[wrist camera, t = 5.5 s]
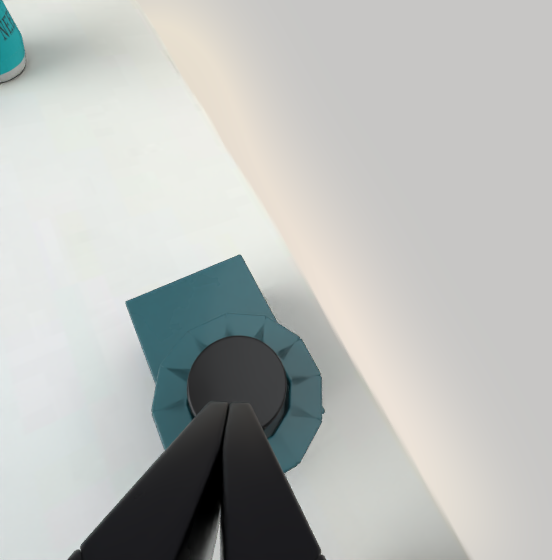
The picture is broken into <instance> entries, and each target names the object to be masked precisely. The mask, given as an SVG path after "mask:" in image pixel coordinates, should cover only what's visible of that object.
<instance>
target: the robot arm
mask: <svg viewBox="0 0 552 560" xmlns="http://www.w3.org/2000/svg"><path fill="white" fill-rule="evenodd" d="M220 515H221V517H220ZM219 522H220V560H326V559H325V557H324V555H321V549H320V547H319V545H318V543H317V541H316V538H315V536H314V534H313V532H312V530H311V528H310V526H309V524H308V522H307V520H306V518H305V516H304V514H303V512H302V510H301V507H300V505H299V503H298V501H297V499H296V497H295V495H294V493H293V491H292V489H291V487H290V485H289V483H288V481H287V479H286V476H285V474H284V472H283V470H282V468H281V466H280V464H279V462H278V460H277V458H276V456H275V454H274V452H273V450H272V448H271V445H270V443H269V441H268V439H267V437H266V435H265V433H264V431H263V429H262V427H261V425H260V423H259V421H258V419H257V417H256V414H255V412H254V410H253V408H252V406H251V405H250V404H249V403H247V402H232V403H230V405H229V403H228V402H222V401H210V402H208V403H207V404H206V405H205V406H204V408H203V409H202V410H201V411H200V412H199V413H198V414H197V415H196V417H195V418H194V419H193V420H192V421H191V422H190V423H189V424H188V425H187V427H186V428H185V429H184V430H183V431H182V432H181V433H180V434H179V436H178V437H177V438H176V439H175V440H174V441H173V442H172V443H171V444H170V446H169V447H168V448H167V449H166V450H165V451H164V452H163V453H162V455H161V456H160V457H159V458H158V459H157V460H156V461H155V462H154V464H153V465H152V466H151V467H150V468H149V469H148V470H147V471H146V472H145V474H144V475H143V476H142V477H141V478H140V479H139V480H138V481H137V483H136V484H135V485H134V486H133V487H132V488H131V489H130V490H129V491H128V493H127V494H126V495H125V496H124V497H123V498H122V499H121V500H120V502H119V503H118V504H117V505H116V506H115V507H114V508H113V509H112V511H111V512H110V513H109V514H108V515H107V516H106V517H105V518H104V519H103V521H102V522H101V523H100V524H99V525H98V526H97V527H96V528H95V530H94V531H93V532H92V533H91V534H90V535H89V536H88V537H87V538H86V540H85V541H84V542H83V543H82V544H81V546H80V549H81V551H80V550H76V551H74V553H73V554H72V555H71V556H70V557H69V558H68V559H67V560H212V557H213V552H214V548H215V543H216V538H217V533H218V528H219Z"/></svg>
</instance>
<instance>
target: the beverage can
mask: <svg viewBox="0 0 552 560" xmlns="http://www.w3.org/2000/svg"><path fill="white" fill-rule="evenodd" d="M25 63H26V56H25V50H24V45H23V40H22V36H21V33H20V31H19V30H18V28H17V26H16V24H15V22H14V21H13V19H12V17H11V15H10V14H9V12H8V10H7V8H6V6H5V5H4V3H3V1H2V0H0V83H1V82H5V81H8V80H10V79H12V78H14V77H16V76H17V75H18V74H20V73H21V71H22V70H23V69H24V67H25Z"/></svg>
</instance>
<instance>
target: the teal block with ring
mask: <svg viewBox="0 0 552 560" xmlns="http://www.w3.org/2000/svg"><path fill="white" fill-rule="evenodd" d="M125 304H126V306H127V309H128V312H129V314H130V317H131V320H132V322H133V325H134V328H135V331H136V333H137V336H138V339H139V341H140V344H141V347H142V349H143V352H144V355H145V357H146V360H147V363H148V366H149V368H150V371H151V374H152V376H153V379H154V382H155V384H156V388H155V393H154V399H153V404H152V410H151V411H152V416H153V419H154V422H155V425H156V428H157V430H158V433H159V436H160V439H161V442H162V444H163V447H164V450H166V449H167V448H168V447H169V446H170V444H171V443H172V442H173V441H174V440H175V439H176V438H177V437H178V436H179V434H180V433H181V432H182V431H183V430H184V429H185V428H186V427H187V425H188V424H189V423H190V422H191V421H192V420H193V419H194V418H195V416H194V415H193V413H192V411H191V408H190V406H189V403H188V398H187V379H188V375H189V372H190V369H191V366H192V364H193V362H194V361H195V359H196V358H197V356H198V355H199V354H200V353H201V351H203V350H204V349H205V348H206V347H207V346H208V345H210V344H211V343H213V342H215V341H216V340H219V339H221V338H224V337H228V336H234V335H243V336H249V337H253V338H256V339H258V340H261V341H262V342H264V343H266V344H267V345H268V346H270V347H271V348H272V349H273V350H274V351H275V353H276V354H277V355H278V356H279V358H280V360H281V361H282V364H283V366H284V369H285V372H286V377H287V393H286V398H285V401H284V404H283V407H282V409H281V411H280V413H279V414H278V415H277V417H276V418H275V419H274V421H273V422H272V423H271V424H270V425H269V426H268V427H267V428H266V429H265V430H264V433H265V435H266V437H267V439H268V441H269V443H270V445H271V448H272V450H273V452H274V454H275V456H276V458H277V460H278V462H279V464H280V466H281V468H282V470H283V472H284V473H286V472H287V471H289V470H291V469H292V468H294V467H296V466H297V465H298V464H299V463H300V462H301V460H302V458H303V456H304V454H305V453H306V451H307V449H308V447H309V445H310V443H311V441H312V440H313V438H314V436H315V434H316V432H317V430H318V428H319V427H320V425H321V423H322V421H321V420H322V414H324V412H325V410H324V408H323V406H322V377H321V376H320V375H321V374H320V371H319V369H318V368H317V366H316V364H315V362H314V360H313V359H312V357H311V355H310V353H309V351H308V350H307V348H306V346H305V344H304V342H303V341H302V339H300V337H299V336H298V335H296V334H294V333H293V332H291V331H290V330H288V329H287V328H285V327H283V326H282V325H280V324H279V323H277V321H276V319H275V317H274V315H273V313H272V312H271V310H270V308H269V306H268V304H267V302H266V300H265V299H264V297H263V295H262V293H261V291H260V289H259V287H258V286H257V284H256V282H255V280H254V278H253V276H252V274H251V272H250V271H249V269H248V267H247V265H246V263H245V261H244V259H243V258H242V256H241V255H237V256H235V257H232V258H230V259H228V260H225V261H223V262H220V263H218V264H215V265H213V266H211V267H208V268H206V269H203V270H201V271H198V272H196V273H194V274H191V275H189V276H186V277H184V278H182V279H179V280H177V281H174V282H172V283H169V284H167V285H165V286H162V287H160V288H157V289H155V290H153V291H150V292H148V293H145V294H143V295H140V296H138V297H136V298H133V299H131V300H128V301H126V303H125Z"/></svg>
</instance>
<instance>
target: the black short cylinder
mask: <svg viewBox="0 0 552 560" xmlns="http://www.w3.org/2000/svg"><path fill="white" fill-rule="evenodd" d="M286 393H287V377H286V372H285V369H284V366H283V364H282V361H281V360H280V358H279V356H278V355H277V354H276V353H275V351H274V350H273V349H272V348H271V347H270V346H268V345H267V344H266V343H264V342H262V341H261V340H258V339H256V338H253V337H249V336H243V335H234V336H228V337H224V338H221V339H219V340H216V341H215V342H213V343H211V344H210V345H208V346H207V347H206V348H205V349H204V350H203V351H201V353H200V354H199V355H198V356H197V358H196V359H195V361H194V362H193V364H192V366H191V369H190V372H189V375H188V379H187V398H188V403H189V406H190V408H191V411H192V413H193V415H194V416H195V417H196V415H197V414H198V413H199V412H200V411H201V410H202V409H203V408H204V406H205V405H206V404H207V403H208V402H210V401H222V402H228V403H229V405H230V403H232V402H247V403H249V404H250V405H251V406H252V408H253V410H254V412H255V414H256V417H257V419H258V421H259V423H260V425H261V427H262V429H263V431H264V430H265V429H266V428H267V427H268V426H269V425H270V424H271V423H272V422H273V421H274V419H275V418H276V417H277V415H278V414H279V413H280V411H281V409H282V407H283V404H284V401H285V398H286Z"/></svg>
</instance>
